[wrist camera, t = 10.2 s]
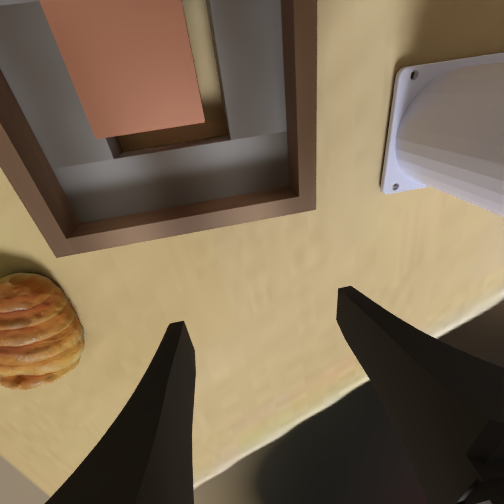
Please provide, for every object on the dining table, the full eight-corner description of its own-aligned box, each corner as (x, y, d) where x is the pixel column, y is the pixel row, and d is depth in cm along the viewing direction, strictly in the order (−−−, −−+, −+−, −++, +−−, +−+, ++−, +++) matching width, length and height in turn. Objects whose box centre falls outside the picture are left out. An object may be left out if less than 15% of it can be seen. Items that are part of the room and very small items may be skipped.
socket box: (283, -151, 11) (318, -253, 8) (295, 188, 19) (315, 209, 16) (-96, -121, 10) (-242, -225, 7) (83, 226, 18) (56, 257, 15)
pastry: (-32, 263, 18) (-81, 300, 15) (77, 268, 20) (55, 302, 17) (5, 354, 23) (-26, 397, 20) (92, 352, 25) (76, 392, 21)
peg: (186, 24, 14) (176, -27, 8) (203, 110, 16) (205, 122, 10) (107, 33, 13) (34, -11, 8) (135, 121, 16) (95, 139, 10)
